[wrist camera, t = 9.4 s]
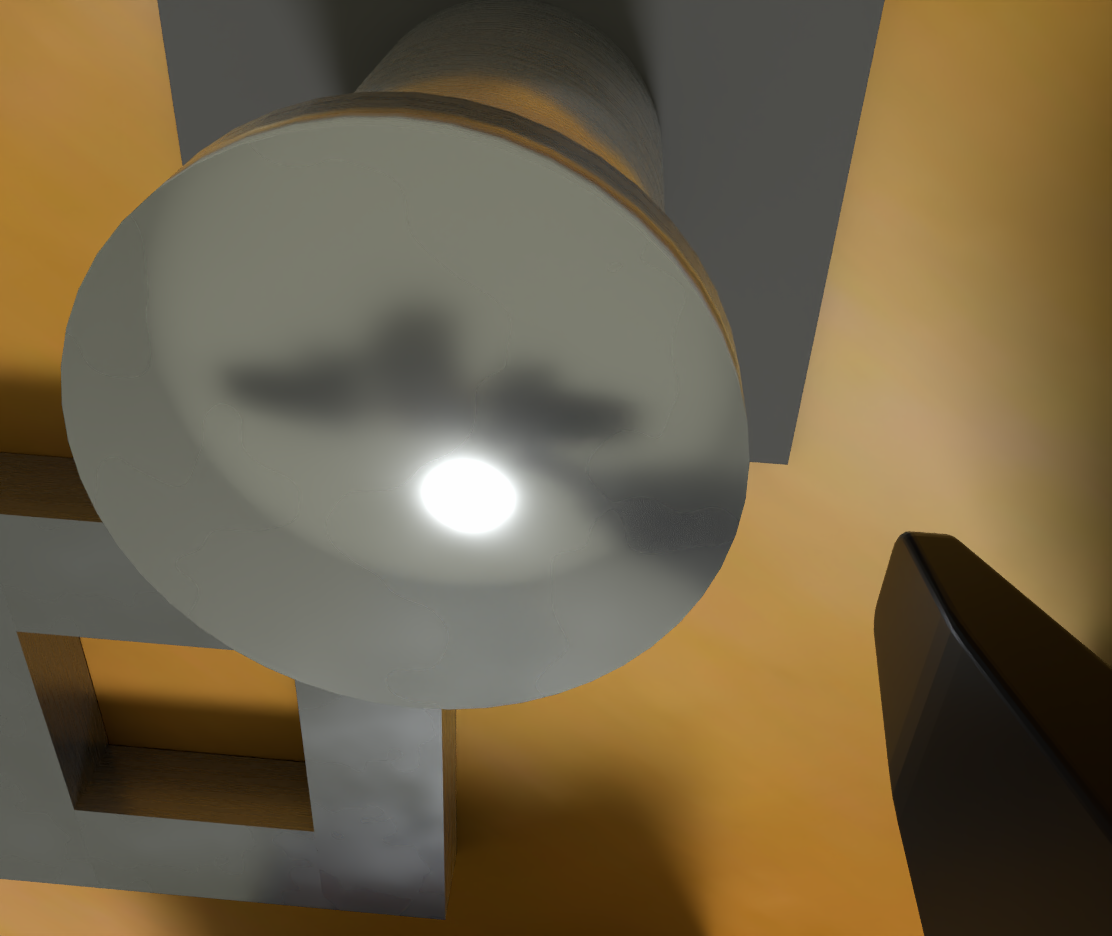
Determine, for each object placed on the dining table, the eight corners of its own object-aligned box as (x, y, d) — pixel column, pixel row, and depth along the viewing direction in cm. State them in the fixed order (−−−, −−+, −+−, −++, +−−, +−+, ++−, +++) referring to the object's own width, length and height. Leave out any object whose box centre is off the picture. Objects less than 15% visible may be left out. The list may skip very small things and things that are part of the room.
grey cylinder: (732, -40, 15) (809, 158, 8) (682, 350, 19) (700, 734, 12) (300, -69, 16) (-19, 95, 8) (330, 321, 19) (128, 680, 12)
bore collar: (454, 489, 22) (438, 550, 20) (456, 851, 28) (445, 919, 27) (-119, 443, 22) (-181, 499, 20) (18, 812, 29) (-20, 876, 27)
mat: (923, -219, 14) (930, -219, 14) (785, 453, 21) (787, 464, 20) (128, -267, 15) (116, -267, 14) (228, 409, 21) (221, 419, 21)
